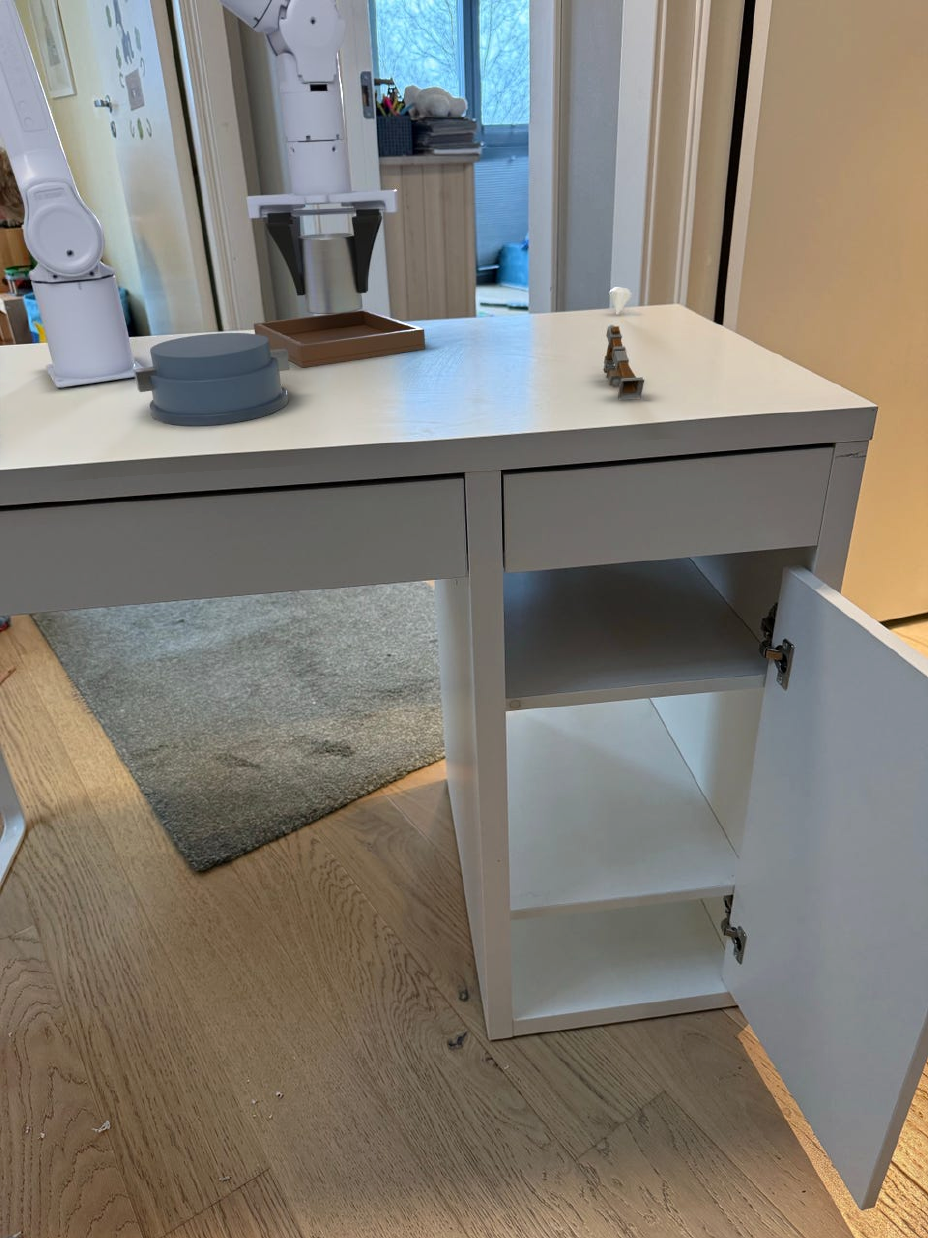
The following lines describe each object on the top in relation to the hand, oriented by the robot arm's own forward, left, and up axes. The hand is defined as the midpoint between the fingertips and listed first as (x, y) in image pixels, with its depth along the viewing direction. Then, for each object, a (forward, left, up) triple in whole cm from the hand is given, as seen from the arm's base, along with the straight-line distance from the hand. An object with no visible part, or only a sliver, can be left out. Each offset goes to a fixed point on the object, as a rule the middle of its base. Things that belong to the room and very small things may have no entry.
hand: (332, 292), depth 88 cm
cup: (0, 0, -2) cm, 2 cm away
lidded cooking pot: (+17, -17, -5) cm, 25 cm away
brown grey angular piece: (+32, +12, -6) cm, 35 cm away
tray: (0, 0, -5) cm, 5 cm away
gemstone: (+5, +33, -6) cm, 34 cm away
